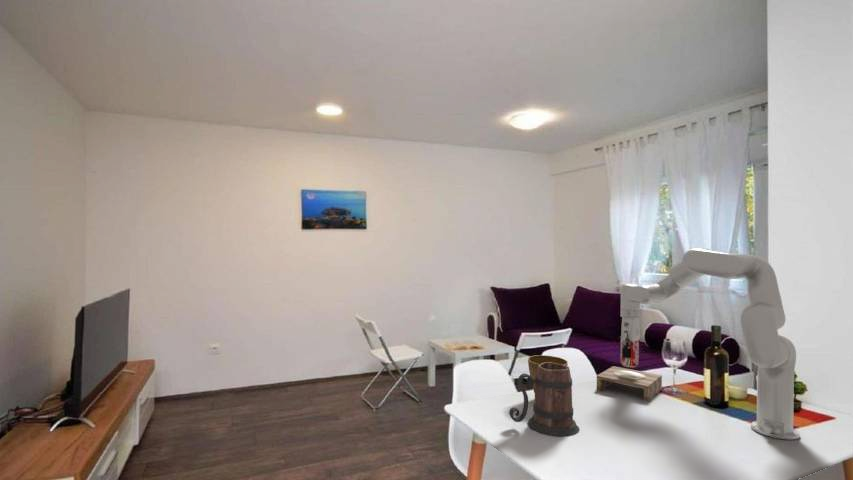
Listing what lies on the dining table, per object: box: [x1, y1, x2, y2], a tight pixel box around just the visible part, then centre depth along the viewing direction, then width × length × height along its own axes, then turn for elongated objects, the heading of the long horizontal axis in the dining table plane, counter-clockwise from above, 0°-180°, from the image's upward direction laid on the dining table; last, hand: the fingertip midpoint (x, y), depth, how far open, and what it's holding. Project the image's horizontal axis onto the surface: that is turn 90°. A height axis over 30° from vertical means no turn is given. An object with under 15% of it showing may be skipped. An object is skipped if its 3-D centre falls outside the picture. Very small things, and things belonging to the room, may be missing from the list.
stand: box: [596, 365, 663, 402], centre depth 189 cm, size 20×20×6 cm
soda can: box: [619, 339, 640, 369], centre depth 189 cm, size 7×7×12 cm
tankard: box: [508, 362, 581, 438], centre depth 150 cm, size 24×17×20 cm
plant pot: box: [527, 354, 569, 394], centre depth 174 cm, size 15×15×16 cm
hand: (629, 355), depth 189 cm, fingers closed on soda can, 7 cm apart
